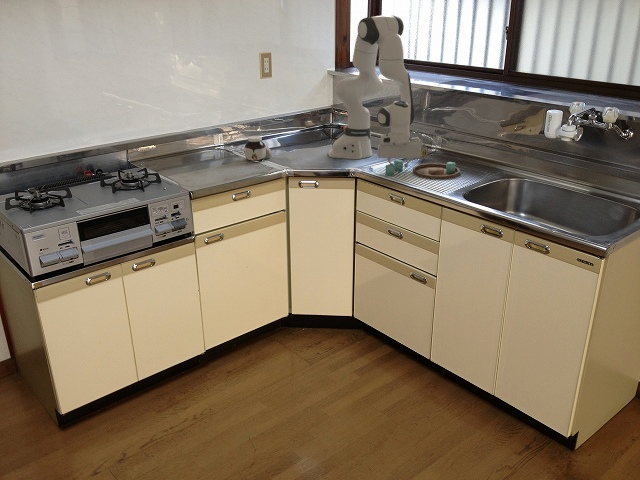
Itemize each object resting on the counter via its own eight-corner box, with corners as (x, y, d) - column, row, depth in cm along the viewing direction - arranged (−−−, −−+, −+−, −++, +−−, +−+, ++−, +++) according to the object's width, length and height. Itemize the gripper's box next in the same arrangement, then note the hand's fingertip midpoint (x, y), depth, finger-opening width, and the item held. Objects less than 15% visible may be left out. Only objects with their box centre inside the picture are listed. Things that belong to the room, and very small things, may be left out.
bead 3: (446, 173, 283) (447, 164, 281) (445, 171, 287) (446, 161, 285) (455, 174, 282) (456, 164, 281) (454, 171, 286) (455, 162, 284)
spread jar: (243, 161, 309) (241, 138, 304) (253, 156, 319) (252, 133, 314) (265, 163, 305) (264, 140, 300) (274, 158, 315) (273, 135, 310)
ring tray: (413, 180, 277) (413, 175, 276) (412, 167, 296) (412, 162, 295) (461, 181, 275) (461, 176, 274) (457, 168, 294) (457, 163, 293)
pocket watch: (435, 165, 300) (436, 144, 296) (417, 164, 301) (418, 143, 297) (436, 160, 307) (437, 140, 303) (418, 159, 309) (419, 139, 305)
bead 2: (394, 171, 290) (394, 162, 288) (394, 169, 294) (394, 159, 292) (402, 171, 290) (403, 162, 288) (402, 169, 293) (403, 160, 292)
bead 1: (385, 176, 283) (385, 166, 282) (385, 173, 287) (385, 164, 285) (394, 176, 283) (394, 166, 281) (394, 174, 287) (394, 164, 285)
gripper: (422, 136, 288) (420, 165, 293) (377, 135, 290) (377, 164, 295) (423, 139, 282) (421, 169, 287) (377, 138, 284) (376, 168, 289)
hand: (398, 166), depth 291 cm, fingers open, 5 cm apart
